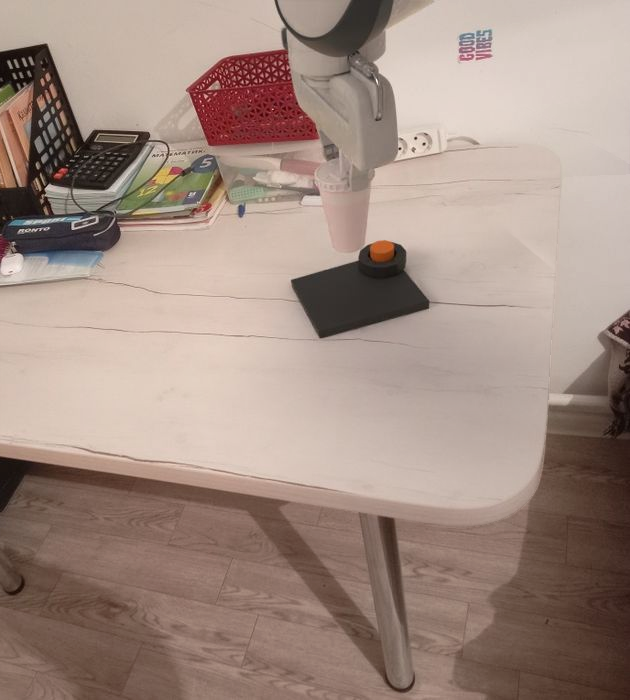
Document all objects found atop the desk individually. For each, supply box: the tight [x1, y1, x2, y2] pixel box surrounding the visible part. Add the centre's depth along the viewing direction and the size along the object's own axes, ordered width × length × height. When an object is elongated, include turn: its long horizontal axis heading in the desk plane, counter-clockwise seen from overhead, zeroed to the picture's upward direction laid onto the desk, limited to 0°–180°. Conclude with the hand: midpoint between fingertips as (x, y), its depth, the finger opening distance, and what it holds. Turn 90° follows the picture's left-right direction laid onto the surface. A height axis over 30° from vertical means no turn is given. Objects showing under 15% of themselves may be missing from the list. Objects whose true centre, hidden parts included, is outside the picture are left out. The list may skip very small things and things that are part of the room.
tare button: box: [370, 239, 394, 262], centre depth 82 cm, size 3×3×2 cm
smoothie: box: [313, 149, 376, 254], centre depth 69 cm, size 6×6×14 cm
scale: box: [290, 241, 430, 339], centre depth 81 cm, size 15×12×3 cm
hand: (344, 173), depth 67 cm, fingers closed on smoothie, 6 cm apart
